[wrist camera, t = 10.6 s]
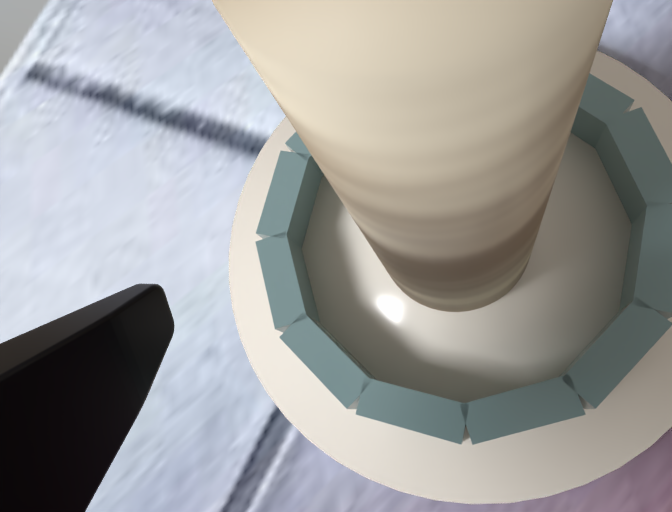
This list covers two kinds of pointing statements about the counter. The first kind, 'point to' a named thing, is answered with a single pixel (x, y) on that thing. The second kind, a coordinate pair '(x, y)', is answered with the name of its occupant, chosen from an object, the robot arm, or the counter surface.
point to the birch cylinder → (431, 122)
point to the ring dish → (474, 320)
